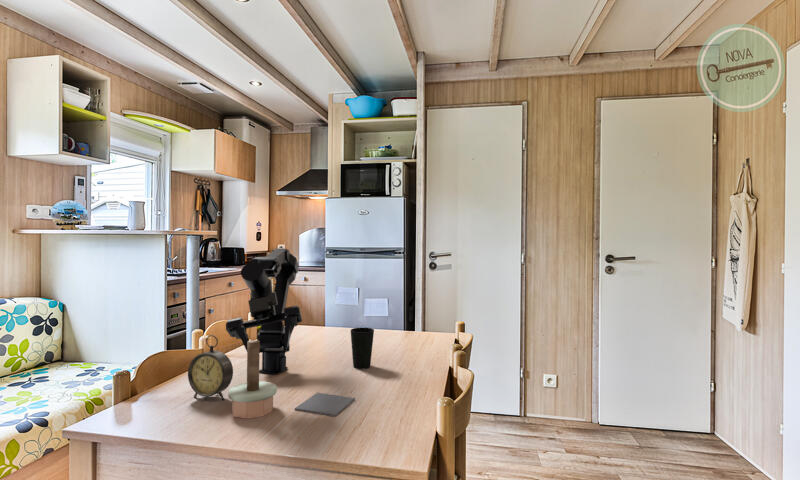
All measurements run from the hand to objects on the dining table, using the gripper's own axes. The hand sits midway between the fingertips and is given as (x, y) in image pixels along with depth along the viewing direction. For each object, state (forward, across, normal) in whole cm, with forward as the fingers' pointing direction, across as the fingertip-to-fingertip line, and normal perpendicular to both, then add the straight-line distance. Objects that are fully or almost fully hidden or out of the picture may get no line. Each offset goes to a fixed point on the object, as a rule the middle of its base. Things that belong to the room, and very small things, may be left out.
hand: (268, 351), depth 106 cm
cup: (+1, +24, +30) cm, 39 cm away
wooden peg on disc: (+9, -5, 0) cm, 10 cm away
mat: (+15, +12, +4) cm, 20 cm away
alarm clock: (+5, -17, +10) cm, 20 cm away
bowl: (+13, -6, +2) cm, 14 cm away
